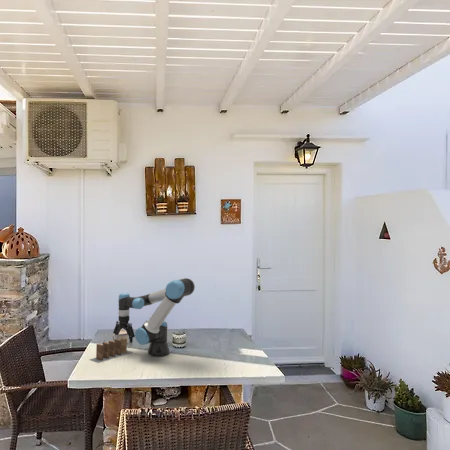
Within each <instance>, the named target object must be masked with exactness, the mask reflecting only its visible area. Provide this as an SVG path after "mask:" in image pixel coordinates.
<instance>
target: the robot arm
mask: <svg viewBox="0 0 450 450" xmlns="http://www.w3.org/2000/svg"><path fill="white" fill-rule="evenodd" d="M195 288H196V287H195V282H194V281H193V280H192V279H191V278H188V277H187V278H181V279H173V280H171V281H169V282H168V283H167V284H166V286H165V288H163V289H159V290H157V291H154V292H152V293H148V294H144V295H140V296H130V293H129V292H125V293H123V292H122V293H119V294H118V313H117V314H118V320H116V323H115V327H114V329H113V332H112V333H113V334H114V335H115V337H114V339H118V340H119V332H120V331H121V329H124V330H125V331H126V332H127V334H128V344H127V348H132V347H133V341H134V340H133V339H134V338H135V341H136V342H137V343H138V344H139V345H142V346H144V345H148V344H149V346H148V349H147V354H148V355H149V356H151V357H164V356H165V357H166V356H168V355H169V354H170V348H169V345H168V322H167V321H165V320H166V319H167V317H168V315H169V314H170V313H171V311H172V310H173V308H174V307H175V305H176V304H180V303H181V302H182V300H183V299H184V297H188V296H191V295H192V294H193V293H194V291H195ZM159 302H160V303H159ZM156 303H159V304H158V306H157V308H155V311H154V312H153V313H152V315H150V318H149V319H148V320H145V321H144V323H143V324H142V326H141V327H138V328H136V330H135V332H134V328H133V323H132V322H130V308H131V309H135V310H141V309H143V308H144V307H147V306H151V305H153V304H156ZM129 322H130V323H129Z"/></svg>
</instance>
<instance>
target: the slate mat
mask: <svg viewBox="0 0 450 450" xmlns="http://www.w3.org/2000/svg"><path fill="white" fill-rule="evenodd" d="M132 353H134V352H133V351H131V350H127V353H121V355H117V354H115V357H112V356H109V358H108V359H106V358H103V360H98V359H96V357H93V358H90V359H89V361H91V362H94V363H97V364H99V363H102V362H105V361H109V360H112V359H116V358H120V357H123V356H126V355H129V354H132Z"/></svg>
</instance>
